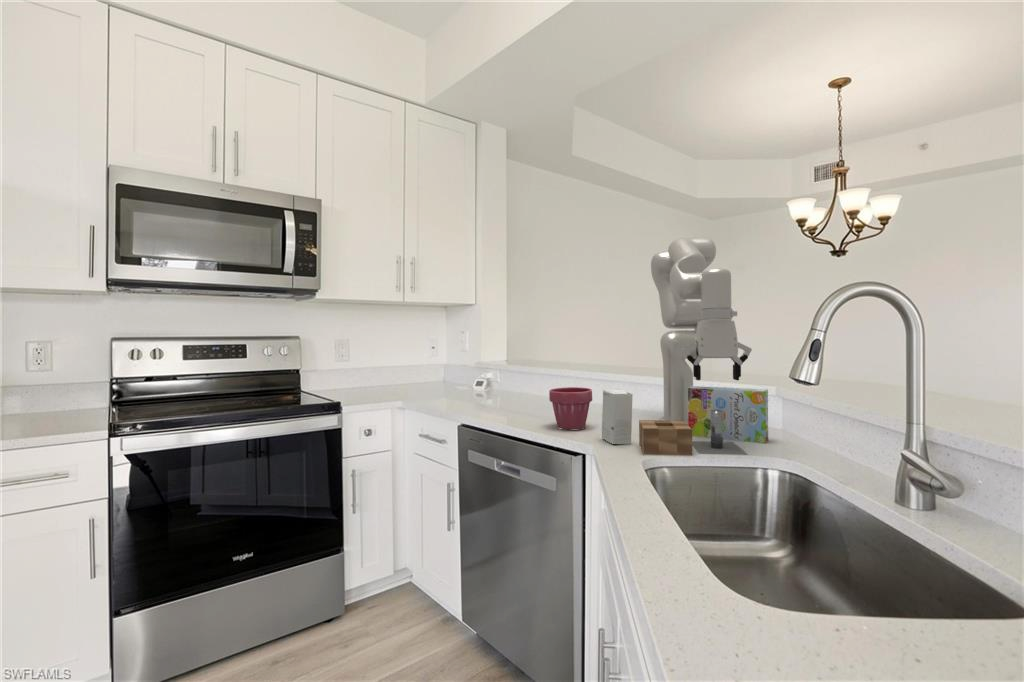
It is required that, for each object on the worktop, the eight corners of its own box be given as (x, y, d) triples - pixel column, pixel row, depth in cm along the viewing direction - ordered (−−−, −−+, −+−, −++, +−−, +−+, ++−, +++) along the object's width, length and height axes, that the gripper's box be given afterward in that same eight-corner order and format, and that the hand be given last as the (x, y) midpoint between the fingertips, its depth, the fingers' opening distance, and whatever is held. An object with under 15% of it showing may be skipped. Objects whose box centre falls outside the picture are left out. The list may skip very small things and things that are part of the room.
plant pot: (541, 426, 166) (540, 389, 165) (573, 422, 174) (572, 385, 173) (568, 434, 154) (568, 393, 154) (601, 428, 162) (601, 389, 161)
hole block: (639, 444, 139) (639, 419, 139) (683, 445, 137) (683, 420, 137) (643, 455, 127) (643, 428, 127) (692, 456, 125) (692, 429, 125)
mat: (688, 442, 141) (688, 441, 141) (732, 443, 139) (732, 441, 139) (698, 455, 127) (698, 453, 127) (748, 456, 125) (748, 454, 125)
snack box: (768, 441, 141) (768, 388, 141) (766, 445, 136) (765, 391, 136) (692, 433, 153) (691, 384, 152) (687, 436, 148) (687, 386, 148)
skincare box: (601, 439, 146) (600, 389, 146) (620, 438, 148) (619, 388, 147) (613, 445, 138) (613, 393, 138) (633, 444, 139) (633, 392, 139)
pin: (709, 445, 134) (709, 409, 134) (721, 446, 134) (720, 409, 134) (712, 448, 131) (712, 411, 131) (724, 448, 131) (723, 411, 131)
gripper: (746, 315, 134) (746, 378, 134) (680, 317, 137) (680, 378, 137) (755, 314, 127) (756, 381, 127) (685, 316, 129) (685, 381, 129)
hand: (716, 379), depth 132 cm, fingers open, 9 cm apart
